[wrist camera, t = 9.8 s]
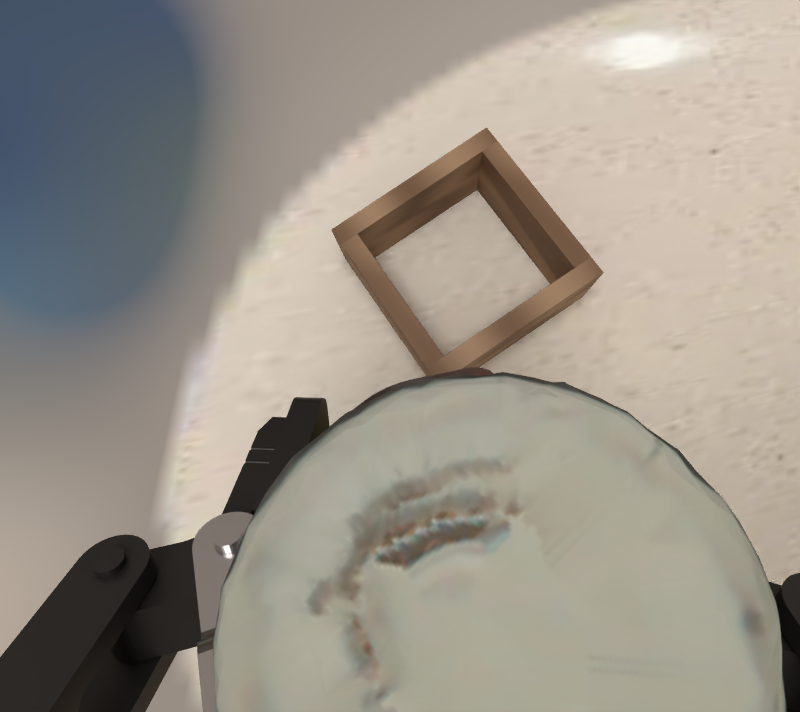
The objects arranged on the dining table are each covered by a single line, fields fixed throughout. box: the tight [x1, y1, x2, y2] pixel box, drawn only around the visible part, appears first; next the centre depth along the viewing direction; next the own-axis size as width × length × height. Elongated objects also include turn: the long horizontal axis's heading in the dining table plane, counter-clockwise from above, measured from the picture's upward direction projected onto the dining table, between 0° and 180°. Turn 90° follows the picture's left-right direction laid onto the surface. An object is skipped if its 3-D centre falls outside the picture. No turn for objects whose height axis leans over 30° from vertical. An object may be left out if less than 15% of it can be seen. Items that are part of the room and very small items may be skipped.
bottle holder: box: [332, 128, 603, 376], centre depth 36 cm, size 12×12×5 cm
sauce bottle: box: [213, 367, 787, 712], centre depth 13 cm, size 6×6×20 cm
